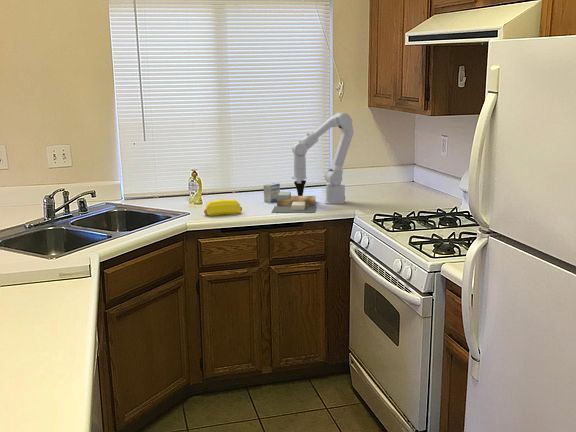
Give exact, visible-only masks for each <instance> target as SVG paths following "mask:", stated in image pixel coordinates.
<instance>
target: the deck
mask: <svg viewBox="0 0 576 432" xmlns="http://www.w3.org/2000/svg"><path fill="white" fill-rule="evenodd" d="M293 202H306V206H316V202H317V201H316V195H303V196H298V195H291V197H290V199H289V200H278V199H277V201H276V206H291V205H292V203H293Z"/></svg>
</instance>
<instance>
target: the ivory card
mask: <svg viewBox="0 0 576 432" xmlns="http://www.w3.org/2000/svg"><path fill="white" fill-rule="evenodd" d="M305 206H306V202H293V203H292V205H291V210H304V209H305Z"/></svg>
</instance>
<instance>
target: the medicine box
mask: <svg viewBox="0 0 576 432" xmlns="http://www.w3.org/2000/svg"><path fill="white" fill-rule="evenodd" d="M279 192H281V185H280V183H276V182H271V183H267V184H263V202H264V203H269V204H270V203H274V202H277V199H278V194H279Z"/></svg>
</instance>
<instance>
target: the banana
mask: <svg viewBox="0 0 576 432" xmlns="http://www.w3.org/2000/svg"><path fill="white" fill-rule="evenodd" d="M242 210H243V208H242V206H241V205H240V203H239V202H238V201H237V200H236V199H217V200H210V201H208V202H207V204H206V205H205V209H204V210H203V213H204V215H207V216H209V217H215V216H223V215H239V214H241V213H242V212H243V211H242Z"/></svg>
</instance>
